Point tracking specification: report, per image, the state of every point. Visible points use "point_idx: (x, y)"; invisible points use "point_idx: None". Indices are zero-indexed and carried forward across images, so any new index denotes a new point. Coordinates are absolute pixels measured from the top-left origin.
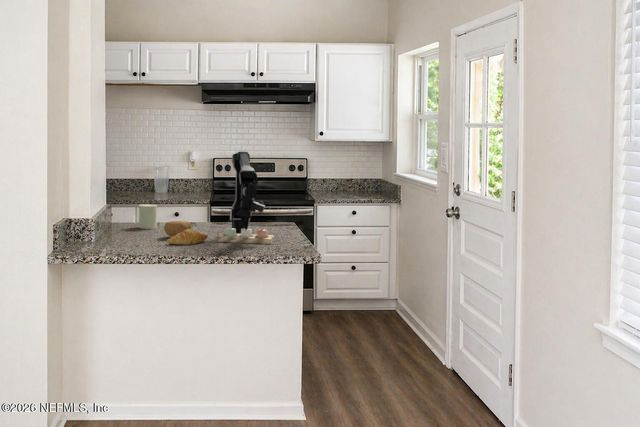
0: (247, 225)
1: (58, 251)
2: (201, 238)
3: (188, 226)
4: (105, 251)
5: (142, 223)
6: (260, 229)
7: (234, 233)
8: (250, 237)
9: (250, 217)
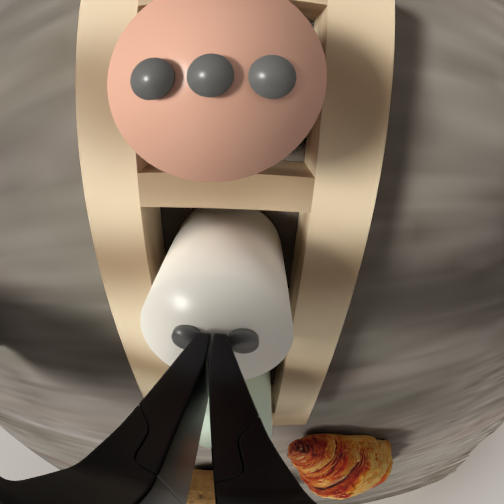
0: (242, 378)
1: (413, 489)
2: (351, 447)
3: (210, 500)
4: (432, 472)
5: None
6: (134, 123)
7: (252, 383)
8: (332, 227)
9: (92, 472)
